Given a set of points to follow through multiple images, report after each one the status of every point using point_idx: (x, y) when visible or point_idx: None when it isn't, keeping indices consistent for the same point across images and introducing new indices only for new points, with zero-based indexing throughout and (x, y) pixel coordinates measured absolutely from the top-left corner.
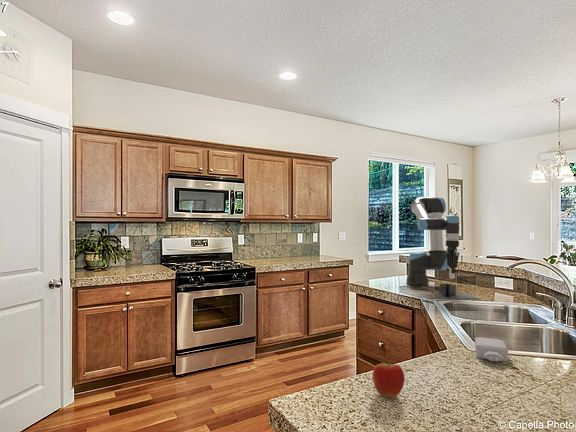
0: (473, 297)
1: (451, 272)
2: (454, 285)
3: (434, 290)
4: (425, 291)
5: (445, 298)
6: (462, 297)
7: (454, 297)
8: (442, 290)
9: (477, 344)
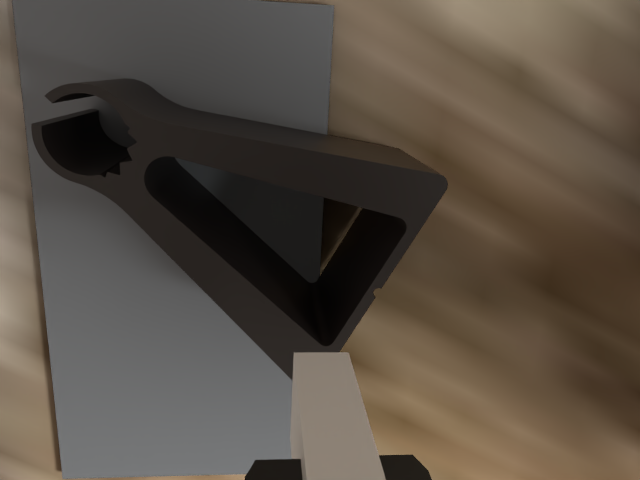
0: (110, 438)
1: (302, 466)
2: (261, 347)
3: (624, 187)
4: (590, 8)
5: (15, 26)
6: (103, 310)
7: (97, 203)
8: (298, 135)
9: None
